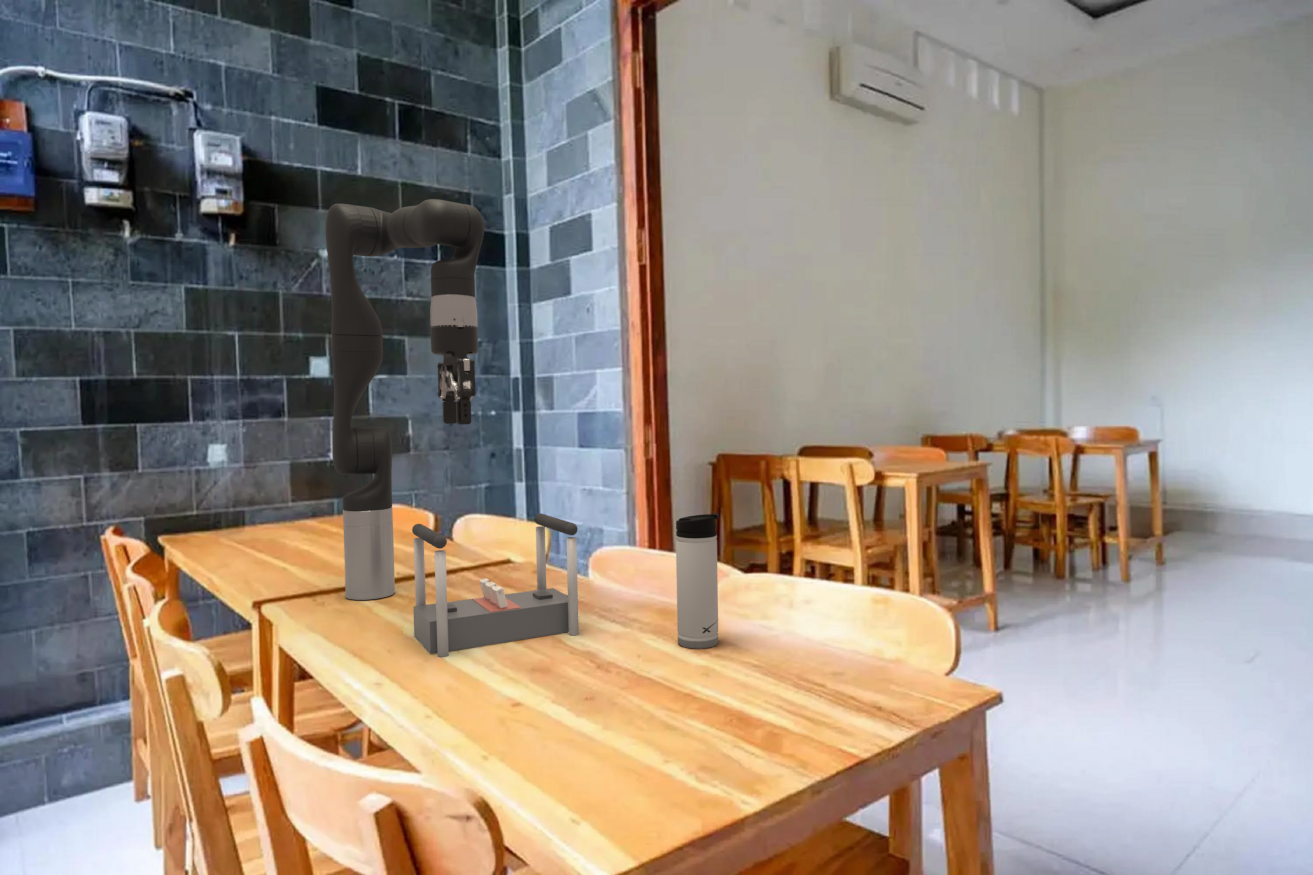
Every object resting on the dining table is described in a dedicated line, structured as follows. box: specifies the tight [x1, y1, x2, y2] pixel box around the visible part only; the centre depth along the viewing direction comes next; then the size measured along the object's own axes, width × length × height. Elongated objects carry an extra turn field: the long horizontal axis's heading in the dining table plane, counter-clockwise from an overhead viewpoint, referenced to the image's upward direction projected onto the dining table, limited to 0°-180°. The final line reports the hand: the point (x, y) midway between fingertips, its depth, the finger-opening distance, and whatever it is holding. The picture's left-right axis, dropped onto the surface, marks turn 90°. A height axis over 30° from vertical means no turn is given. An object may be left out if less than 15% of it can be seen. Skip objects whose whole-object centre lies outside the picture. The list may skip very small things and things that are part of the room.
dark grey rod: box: [534, 513, 578, 536], centre depth 137 cm, size 16×2×2 cm, turn 29°
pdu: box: [412, 525, 580, 658], centre depth 132 cm, size 16×24×16 cm, turn 119°
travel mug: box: [675, 512, 720, 650], centre depth 125 cm, size 6×7×20 cm
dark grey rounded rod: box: [411, 523, 448, 550], centre depth 127 cm, size 16×2×2 cm, turn 29°
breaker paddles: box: [478, 577, 508, 608], centre depth 132 cm, size 9×1×3 cm, turn 29°
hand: (456, 423), depth 135 cm, fingers open, 8 cm apart
